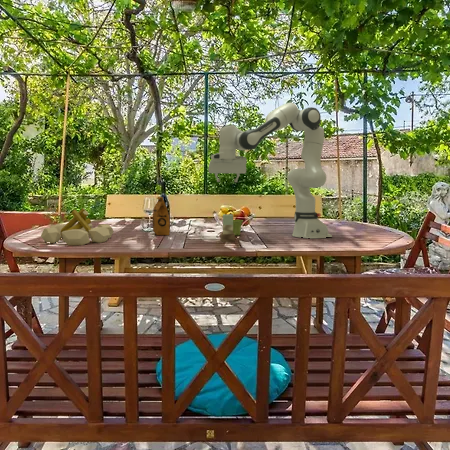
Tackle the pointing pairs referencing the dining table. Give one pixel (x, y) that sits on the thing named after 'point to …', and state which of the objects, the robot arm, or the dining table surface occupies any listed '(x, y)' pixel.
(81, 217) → the campfire
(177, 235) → the dining table surface
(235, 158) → the robot arm
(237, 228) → the plant pot
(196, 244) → the dining table surface
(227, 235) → the brown square block
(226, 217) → the green cube
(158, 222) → the coffee package
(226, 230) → the birch cube
